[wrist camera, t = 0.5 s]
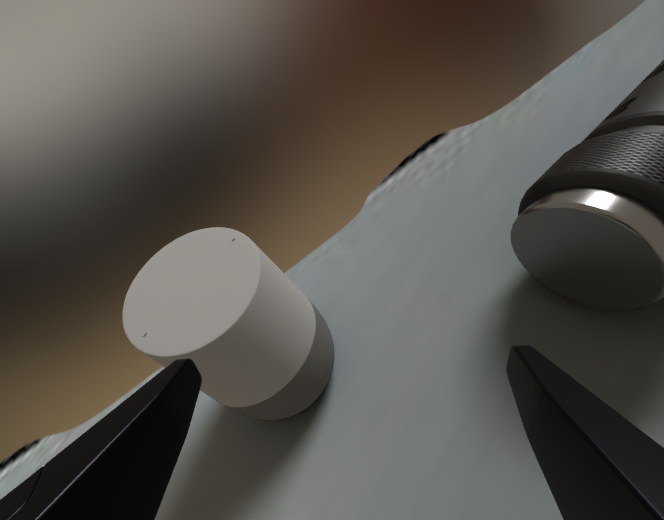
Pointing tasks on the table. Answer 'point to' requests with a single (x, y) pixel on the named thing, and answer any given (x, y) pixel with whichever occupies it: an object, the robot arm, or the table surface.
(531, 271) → the muzzle brake
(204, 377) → the smart speaker
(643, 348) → the table surface
